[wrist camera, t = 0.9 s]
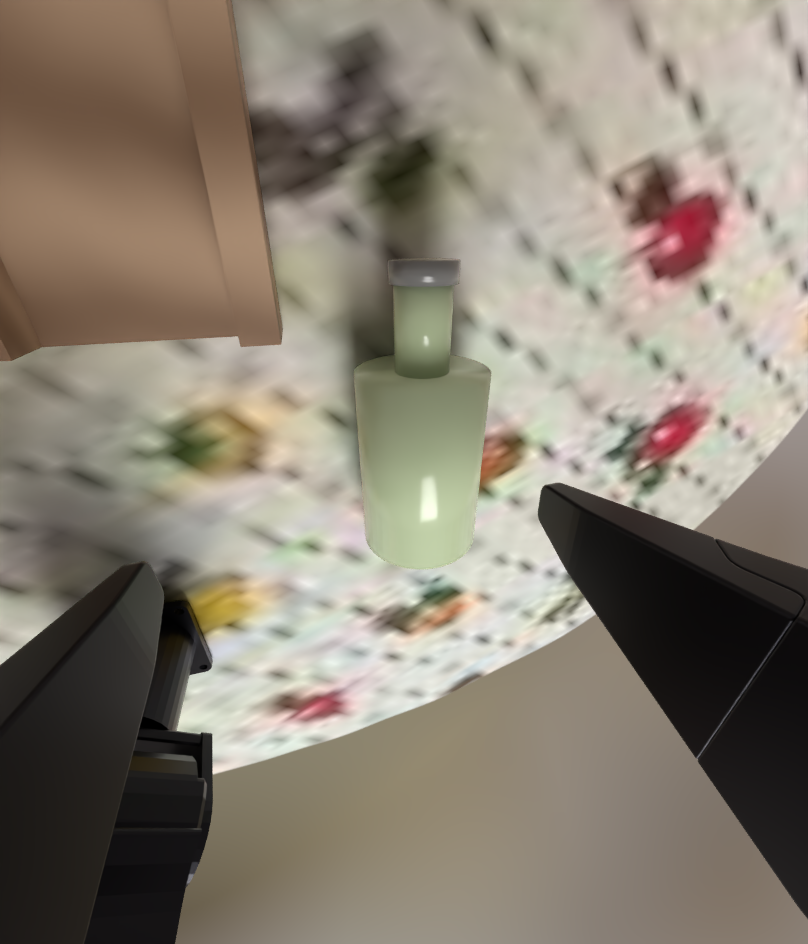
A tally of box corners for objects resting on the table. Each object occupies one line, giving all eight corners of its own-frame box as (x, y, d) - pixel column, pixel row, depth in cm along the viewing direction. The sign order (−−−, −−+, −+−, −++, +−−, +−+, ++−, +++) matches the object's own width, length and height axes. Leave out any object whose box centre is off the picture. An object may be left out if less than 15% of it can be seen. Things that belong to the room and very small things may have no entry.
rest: (282, 329, 18) (281, 344, 16) (12, 343, 16) (-41, 363, 13) (208, -147, 11) (184, -255, 9) (-275, -229, 9) (-485, -401, 7)
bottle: (452, 493, 25) (491, 557, 20) (357, 507, 24) (375, 579, 19) (467, 255, 18) (534, 262, 13) (337, 257, 17) (357, 266, 12)
